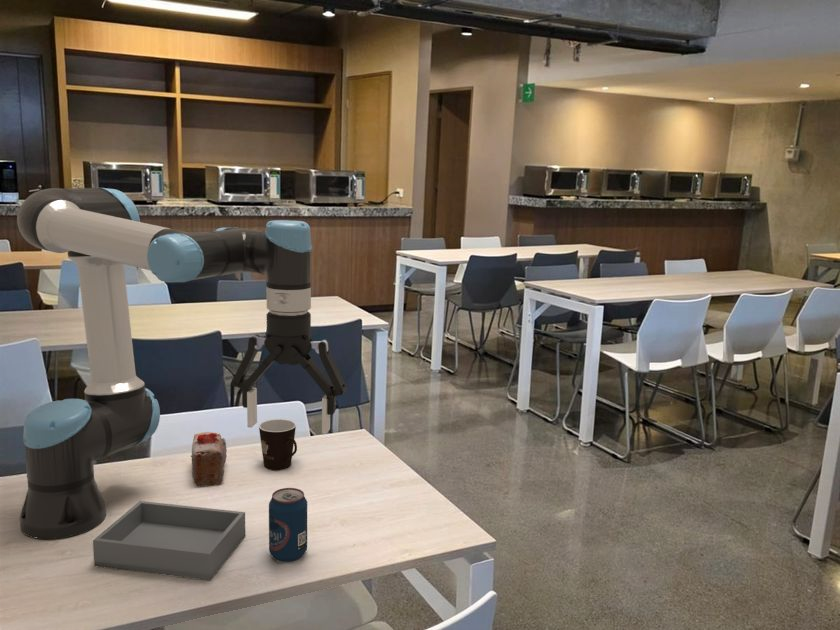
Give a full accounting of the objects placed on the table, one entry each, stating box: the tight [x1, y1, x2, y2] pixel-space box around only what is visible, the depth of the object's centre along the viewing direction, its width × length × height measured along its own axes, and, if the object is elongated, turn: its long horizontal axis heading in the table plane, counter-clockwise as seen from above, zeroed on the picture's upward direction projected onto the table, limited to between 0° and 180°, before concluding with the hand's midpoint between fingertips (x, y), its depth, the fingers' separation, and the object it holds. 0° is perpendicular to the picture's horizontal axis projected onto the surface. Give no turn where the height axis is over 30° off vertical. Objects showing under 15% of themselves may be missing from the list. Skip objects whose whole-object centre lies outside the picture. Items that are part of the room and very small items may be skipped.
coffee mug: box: [258, 418, 298, 472], centre depth 170 cm, size 12×9×10 cm
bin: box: [92, 500, 246, 582], centre depth 132 cm, size 22×16×5 cm
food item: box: [190, 431, 228, 488], centre depth 165 cm, size 14×8×10 cm, turn 18°
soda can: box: [268, 487, 308, 564], centre depth 132 cm, size 7×7×12 cm
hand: (288, 428), depth 128 cm, fingers open, 13 cm apart
